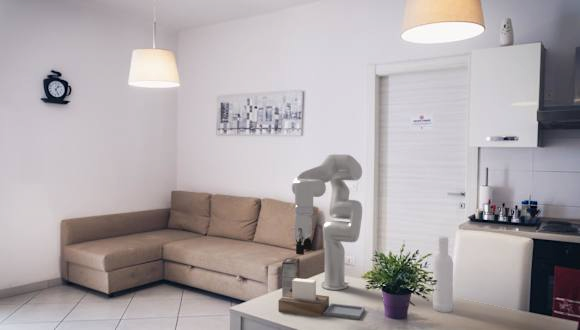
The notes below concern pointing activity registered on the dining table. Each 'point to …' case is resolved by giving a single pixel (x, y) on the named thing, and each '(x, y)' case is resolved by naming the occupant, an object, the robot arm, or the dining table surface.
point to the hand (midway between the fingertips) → (303, 251)
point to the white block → (304, 289)
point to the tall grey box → (289, 273)
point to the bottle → (443, 278)
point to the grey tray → (344, 311)
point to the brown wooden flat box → (304, 305)
